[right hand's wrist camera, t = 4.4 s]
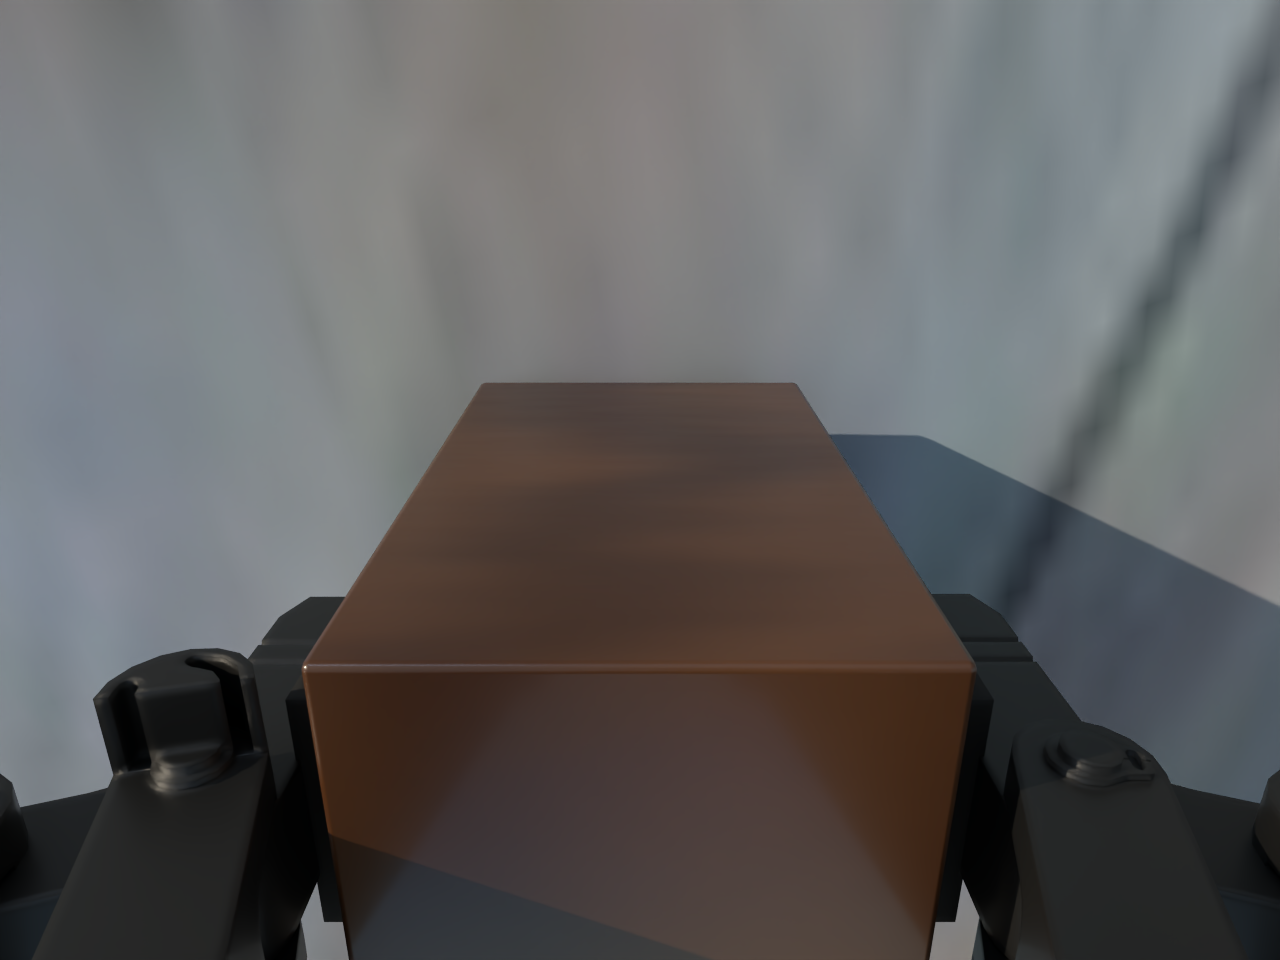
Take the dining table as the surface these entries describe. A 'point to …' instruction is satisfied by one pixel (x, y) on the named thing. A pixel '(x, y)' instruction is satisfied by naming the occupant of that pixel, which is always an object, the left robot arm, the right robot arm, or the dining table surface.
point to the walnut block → (639, 693)
